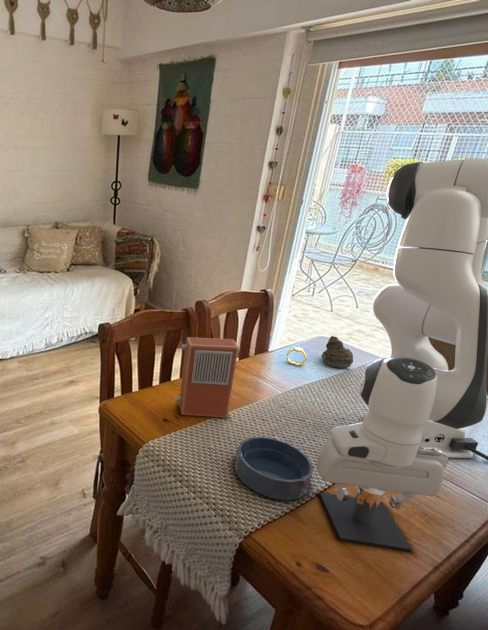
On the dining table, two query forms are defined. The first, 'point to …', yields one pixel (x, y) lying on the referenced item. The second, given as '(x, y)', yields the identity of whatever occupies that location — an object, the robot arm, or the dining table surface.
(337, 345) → the brown poop pile
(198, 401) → the pink box with grille
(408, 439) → the robot arm
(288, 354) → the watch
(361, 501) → the milkshake
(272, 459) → the dish
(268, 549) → the dining table surface
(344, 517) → the mat
